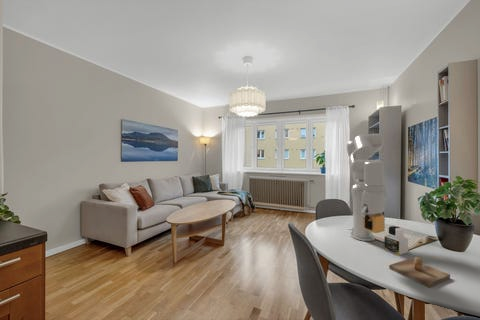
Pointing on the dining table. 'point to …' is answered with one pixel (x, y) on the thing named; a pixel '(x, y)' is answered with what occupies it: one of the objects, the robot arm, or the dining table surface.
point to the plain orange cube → (376, 223)
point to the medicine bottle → (396, 241)
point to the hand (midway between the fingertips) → (373, 227)
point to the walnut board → (419, 272)
